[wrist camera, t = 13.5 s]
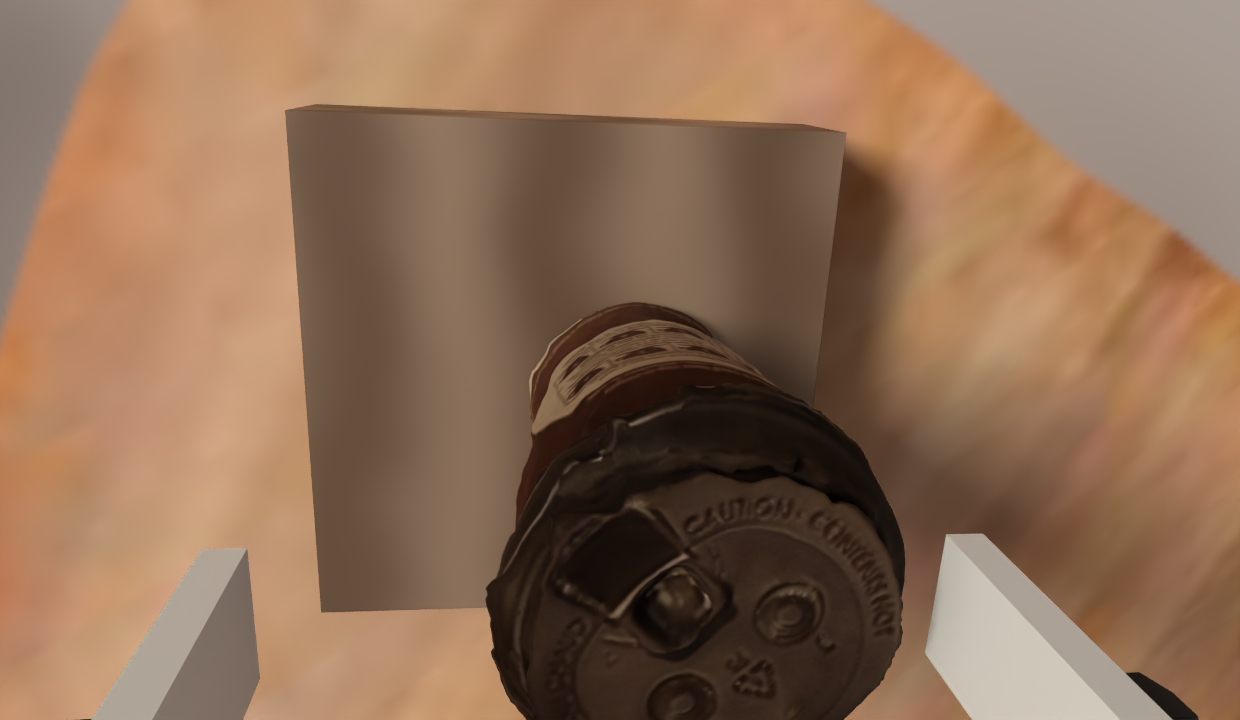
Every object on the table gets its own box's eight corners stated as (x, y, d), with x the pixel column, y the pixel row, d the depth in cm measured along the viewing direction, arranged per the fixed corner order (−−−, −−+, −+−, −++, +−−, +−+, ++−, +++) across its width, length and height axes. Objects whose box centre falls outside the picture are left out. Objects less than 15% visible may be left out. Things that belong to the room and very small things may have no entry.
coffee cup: (480, 268, 26) (452, 449, 14) (754, 242, 27) (961, 392, 14) (511, 527, 29) (512, 869, 16) (758, 498, 29) (934, 804, 17)
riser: (803, 124, 30) (846, 132, 26) (759, 540, 35) (789, 598, 31) (315, 104, 28) (285, 110, 24) (343, 549, 33) (321, 612, 29)
